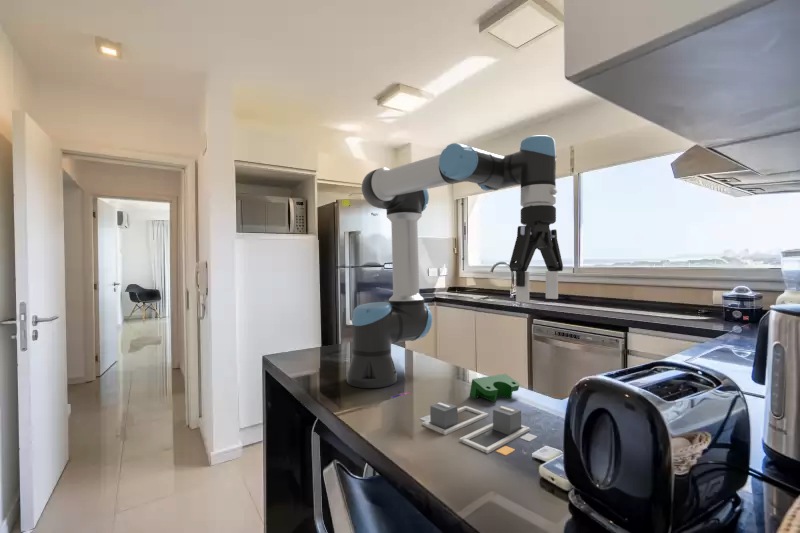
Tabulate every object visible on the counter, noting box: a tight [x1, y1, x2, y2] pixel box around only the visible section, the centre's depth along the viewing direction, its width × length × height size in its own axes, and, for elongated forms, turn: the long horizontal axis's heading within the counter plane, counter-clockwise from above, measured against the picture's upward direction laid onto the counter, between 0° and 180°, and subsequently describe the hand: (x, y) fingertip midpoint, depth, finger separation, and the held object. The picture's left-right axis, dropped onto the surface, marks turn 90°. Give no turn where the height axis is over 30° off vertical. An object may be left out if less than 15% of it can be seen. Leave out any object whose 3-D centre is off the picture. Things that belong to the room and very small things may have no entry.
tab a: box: [429, 401, 459, 430], centre depth 79 cm, size 4×4×4 cm
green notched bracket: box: [469, 373, 520, 403], centre depth 96 cm, size 12×6×9 cm, turn 111°
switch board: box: [419, 405, 539, 457], centre depth 78 cm, size 24×18×2 cm
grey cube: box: [492, 404, 522, 436], centre depth 76 cm, size 4×4×4 cm
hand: (538, 300), depth 85 cm, fingers open, 13 cm apart
